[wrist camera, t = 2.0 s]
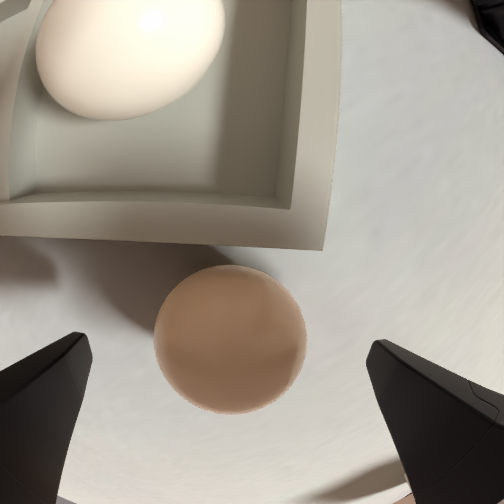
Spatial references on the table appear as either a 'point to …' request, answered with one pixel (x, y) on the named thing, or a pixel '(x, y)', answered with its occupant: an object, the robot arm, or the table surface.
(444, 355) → the table surface
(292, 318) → the brown egg
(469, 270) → the table surface
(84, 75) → the egg
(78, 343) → the robot arm
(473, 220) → the table surface
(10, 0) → the carton
